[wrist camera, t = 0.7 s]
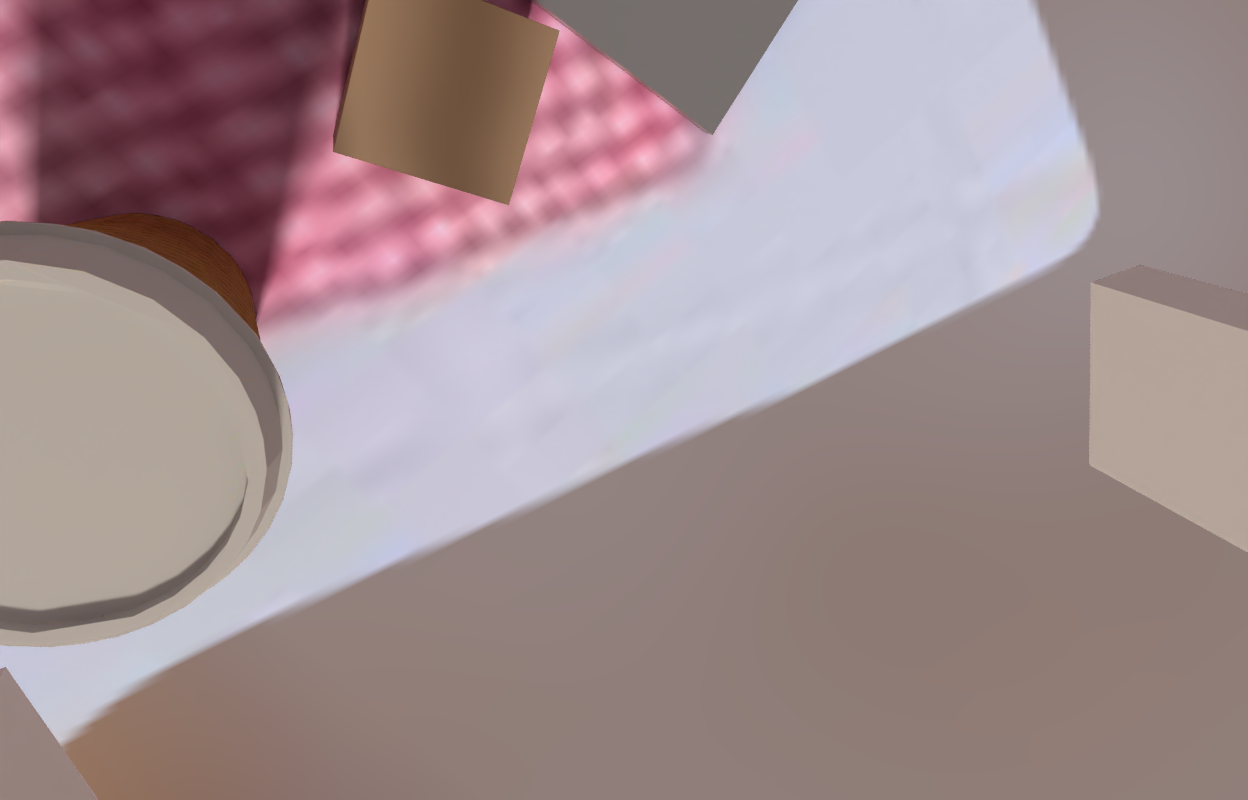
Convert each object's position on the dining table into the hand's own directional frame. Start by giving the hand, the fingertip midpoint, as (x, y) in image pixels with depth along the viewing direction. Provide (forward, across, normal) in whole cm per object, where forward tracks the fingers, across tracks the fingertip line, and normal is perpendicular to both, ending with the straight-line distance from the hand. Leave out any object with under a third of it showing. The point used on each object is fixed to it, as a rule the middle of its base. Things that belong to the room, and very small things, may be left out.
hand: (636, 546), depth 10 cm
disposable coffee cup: (+22, -10, 0) cm, 24 cm away
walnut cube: (+22, +1, +4) cm, 23 cm away
